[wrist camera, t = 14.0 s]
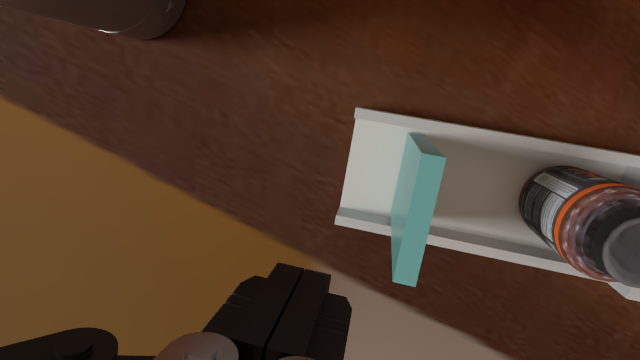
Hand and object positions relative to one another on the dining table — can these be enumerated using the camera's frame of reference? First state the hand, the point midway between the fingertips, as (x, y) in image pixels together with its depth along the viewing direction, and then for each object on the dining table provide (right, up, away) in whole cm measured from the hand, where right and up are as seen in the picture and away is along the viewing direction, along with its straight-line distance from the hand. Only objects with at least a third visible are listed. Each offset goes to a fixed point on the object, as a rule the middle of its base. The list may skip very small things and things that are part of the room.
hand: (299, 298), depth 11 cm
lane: (+14, +3, +22) cm, 26 cm away
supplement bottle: (+19, +2, +20) cm, 28 cm away
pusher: (+8, +4, +21) cm, 23 cm away
